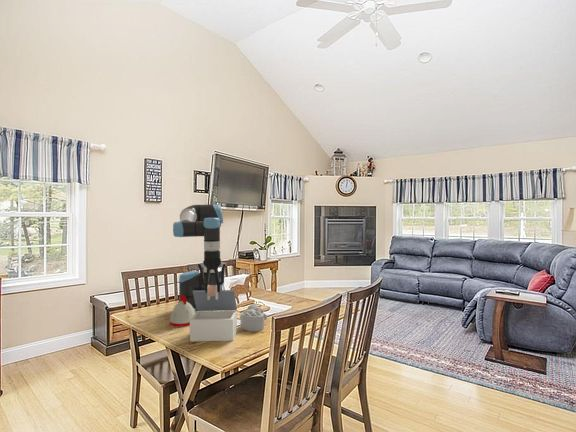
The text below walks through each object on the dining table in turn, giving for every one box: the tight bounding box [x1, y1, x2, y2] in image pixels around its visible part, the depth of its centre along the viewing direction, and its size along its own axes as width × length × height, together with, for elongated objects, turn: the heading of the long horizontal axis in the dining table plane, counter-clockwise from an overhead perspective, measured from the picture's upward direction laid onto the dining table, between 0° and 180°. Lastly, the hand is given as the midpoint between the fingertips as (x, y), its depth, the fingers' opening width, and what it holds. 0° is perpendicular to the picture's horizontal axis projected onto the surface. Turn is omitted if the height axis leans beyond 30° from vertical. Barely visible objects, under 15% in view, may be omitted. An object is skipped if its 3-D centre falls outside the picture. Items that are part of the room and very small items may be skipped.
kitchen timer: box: [169, 295, 196, 328], centre depth 189 cm, size 14×14×15 cm
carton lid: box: [193, 285, 238, 311], centre depth 168 cm, size 18×20×6 cm
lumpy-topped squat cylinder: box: [240, 309, 265, 332], centre depth 180 cm, size 10×13×9 cm
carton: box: [189, 310, 238, 342], centre depth 168 cm, size 14×20×10 cm
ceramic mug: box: [246, 304, 268, 319], centre depth 194 cm, size 11×8×8 cm
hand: (212, 299), depth 165 cm, fingers closed on carton lid, 3 cm apart
